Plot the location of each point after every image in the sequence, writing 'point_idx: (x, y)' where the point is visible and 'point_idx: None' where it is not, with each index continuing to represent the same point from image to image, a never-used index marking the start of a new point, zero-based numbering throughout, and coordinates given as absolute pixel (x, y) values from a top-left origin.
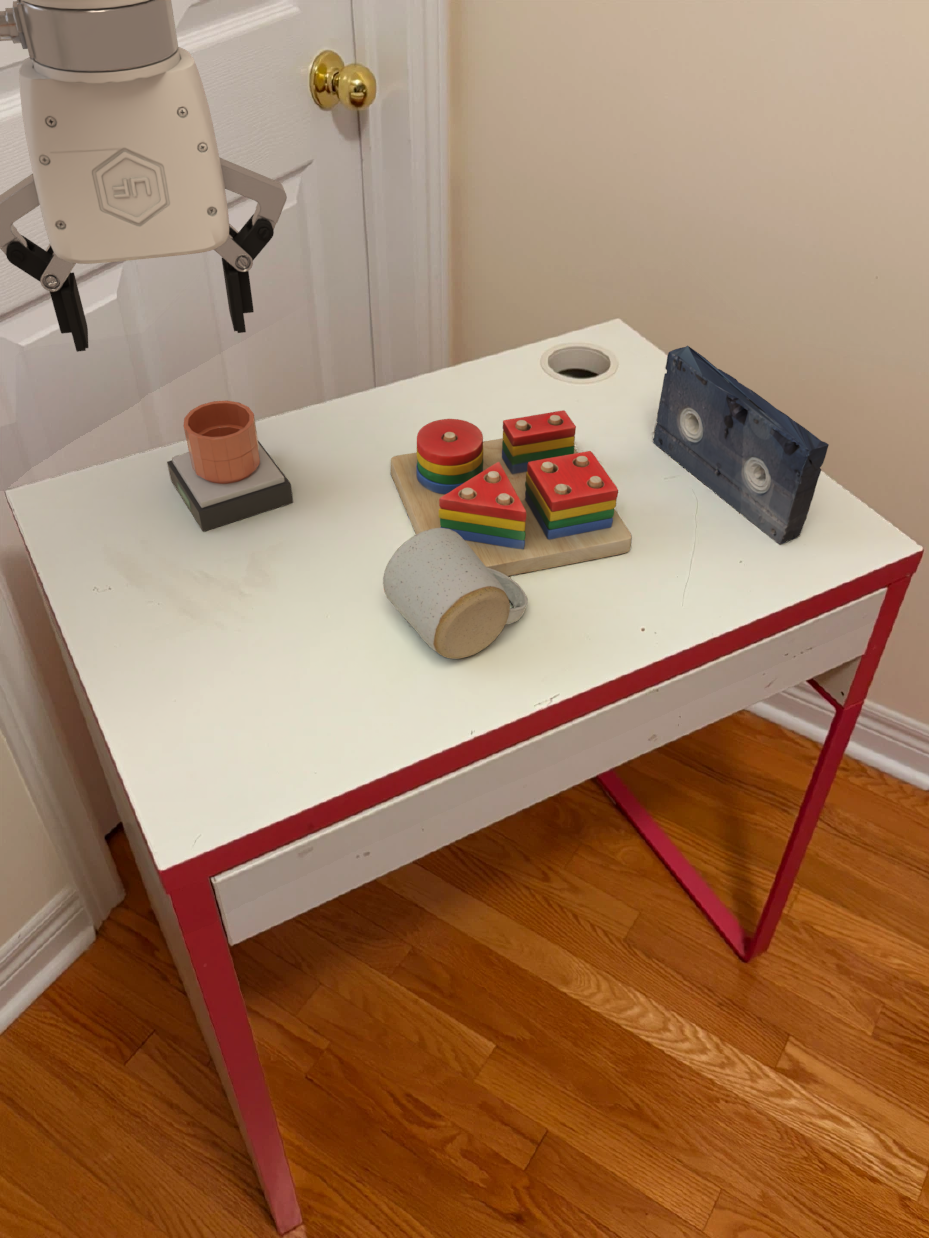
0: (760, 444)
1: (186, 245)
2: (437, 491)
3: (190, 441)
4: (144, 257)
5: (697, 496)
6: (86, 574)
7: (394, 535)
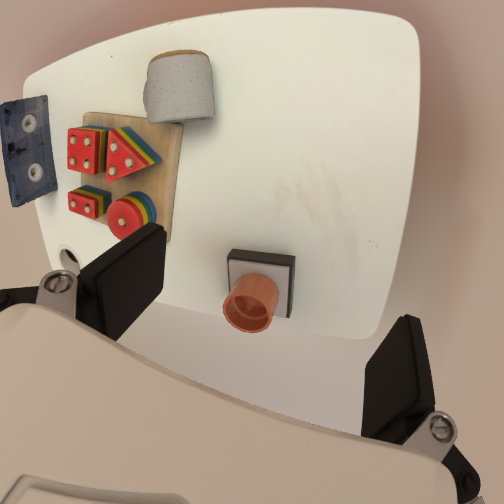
0: (16, 128)
1: (86, 351)
2: (149, 199)
3: (272, 308)
4: (230, 399)
5: (56, 141)
6: (375, 261)
7: (188, 185)
